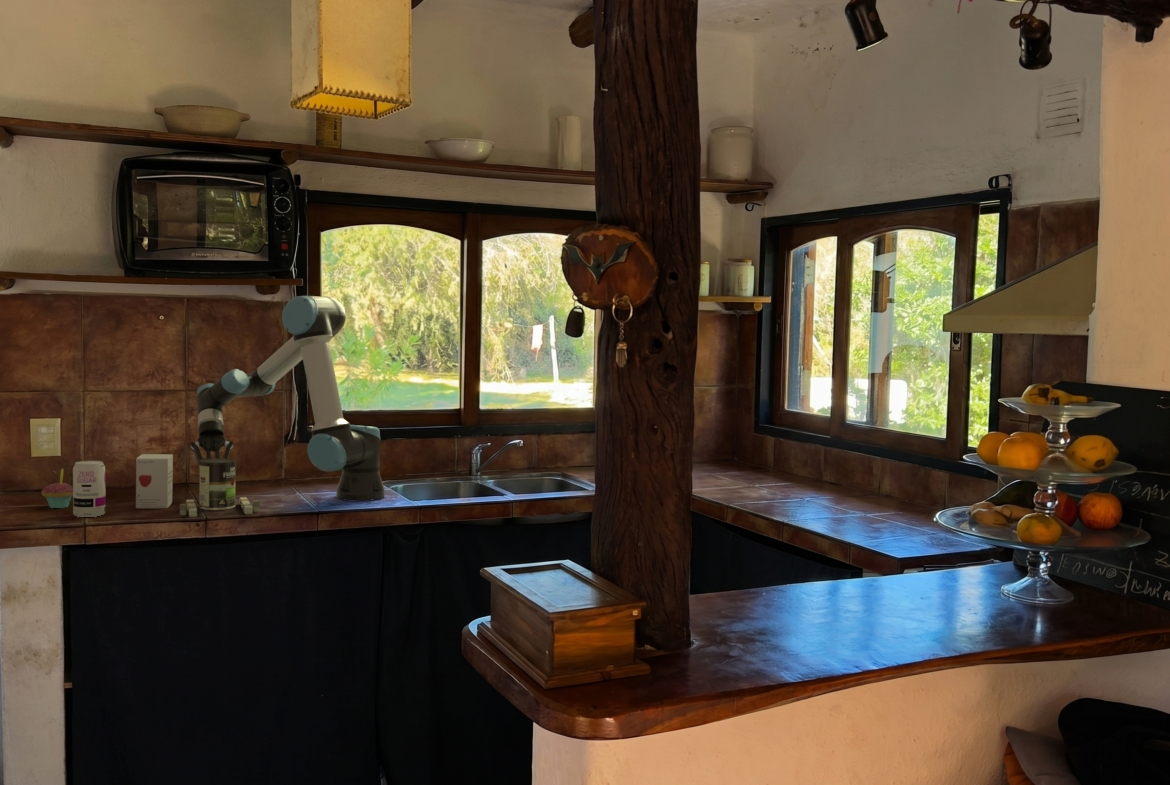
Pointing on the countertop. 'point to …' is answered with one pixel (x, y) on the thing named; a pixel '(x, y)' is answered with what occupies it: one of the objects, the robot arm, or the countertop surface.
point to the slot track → (243, 502)
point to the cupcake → (58, 493)
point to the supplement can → (89, 489)
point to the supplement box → (154, 480)
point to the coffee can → (217, 483)
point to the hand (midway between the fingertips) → (214, 487)
